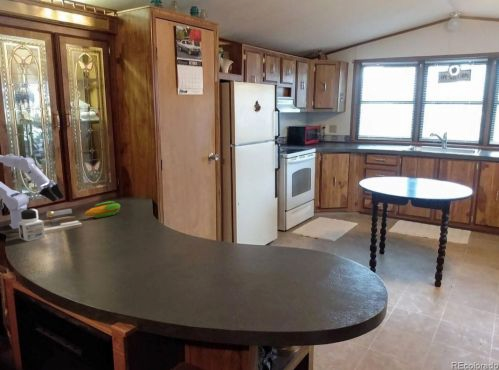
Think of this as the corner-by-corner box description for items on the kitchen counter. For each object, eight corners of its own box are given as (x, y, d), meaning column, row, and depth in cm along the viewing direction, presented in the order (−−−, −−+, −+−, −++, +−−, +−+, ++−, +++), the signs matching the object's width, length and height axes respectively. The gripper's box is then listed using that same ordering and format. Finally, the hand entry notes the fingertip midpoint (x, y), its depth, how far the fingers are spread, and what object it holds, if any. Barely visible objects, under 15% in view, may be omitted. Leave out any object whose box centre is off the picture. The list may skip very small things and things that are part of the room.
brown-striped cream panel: (34, 225, 193) (33, 217, 193) (70, 219, 204) (69, 211, 204) (44, 234, 179) (43, 225, 178) (82, 226, 190) (81, 218, 189)
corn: (122, 199, 213) (88, 206, 198) (124, 213, 214) (90, 221, 200) (115, 199, 218) (81, 205, 203) (117, 212, 219) (83, 219, 204)
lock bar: (47, 217, 191) (47, 213, 190) (46, 216, 193) (45, 211, 193) (72, 213, 198) (72, 209, 198) (70, 212, 201) (70, 207, 200)
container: (27, 241, 169) (23, 213, 166) (19, 238, 173) (16, 210, 171) (45, 237, 175) (42, 209, 172) (37, 234, 179) (34, 206, 177)
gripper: (37, 174, 181) (58, 196, 182) (52, 171, 195) (71, 191, 197) (26, 184, 181) (47, 205, 183) (41, 180, 195) (60, 200, 197)
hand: (58, 199), depth 190 cm, fingers open, 7 cm apart
